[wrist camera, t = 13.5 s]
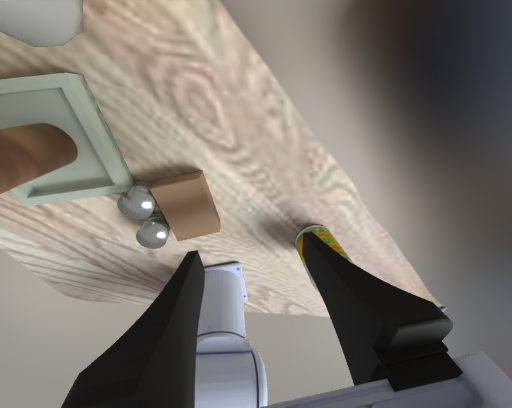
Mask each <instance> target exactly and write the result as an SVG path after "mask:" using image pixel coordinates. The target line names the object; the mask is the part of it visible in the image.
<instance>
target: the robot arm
mask: <svg viewBox="0 0 512 408" xmlns="http://www.w3.org/2000/svg"><path fill="white" fill-rule="evenodd" d="M302 255H303V258H304V261H305V264H306V266H307V269H308V271H309V273H310V275H311V277H312V279H313V281H314V283H315V284H316V286H317V288H318V290H319V292H320V294H321V296H322V298H323V300H324V303H325V305H326V307H327V310H328V312H329V315H330V318H331V320H332V323H333V325H334V328H335V330H336V333H337V336H338V339H339V342H340V344H341V347H342V350H343V353H344V356H345V358H346V362H347V365H348V367H349V370H350V373H351V376H352V380H353V383H354V386H352V387H348V388H343V389H339V390H335V391H330V392H325V393H321V394H316V395H312V396H308V397H303V398H299V399H295V400H290V401H285V402H281V403H276V404H272V405H267V379H266V372H265V367H264V363H263V360H262V358H261V356H260V355H259V353H258V351H257V350H256V349H254V348H253V349H252V348H251V343H250V339H247V338H246V334H245V321H244V307H243V302H245V301H247V300H248V297H247V292H246V287H245V282H244V278H243V273H242V268H241V264H240V263H232V264H226V265H221V266H215V267H209V268H204V267H203V264H202V261H201V258H200V256H199V253H198V250H196V251H190V252H188V253H187V254H186V256H185V257H184V259H183V261H182V262H181V264H180V265H179V267H178V269H177V270H176V272H175V273H174V275H173V276H172V278H171V279H170V281H169V282H168V283H167V285H166V286H165V287H164V289H163V290H162V291H161V293H160V294H159V295H158V297H157V298H156V299H155V301H154V302H153V303H152V304H151V305H150V307H149V308H148V309H147V310H146V311H145V312H144V313H143V315H142V316H141V317H140V318H139V319H138V320H137V321H136V322H135V323H134V324H133V325H132V326H131V327H130V328H129V329H128V330H127V331H126V332H125V333H124V334H123V335H122V336H121V337H120V338H119V339H118V340H117V341H116V342H115V343H114V344H113V345H112V346H111V347H110V348H109V349H107V350H106V351H105V352H104V353H103V354H102V355H101V356H99V357H98V358H97V359H96V360H95V361H94V362H92V363H91V364H90V365H89V366H88V367H87V368H86V369H84V370H83V371H82V372H81V373H79V375H78V377H77V379H76V380H75V382H74V384H73V386H72V388H71V389H70V391H69V393H68V395H67V397H66V399H65V401H64V403H63V405H62V407H61V408H512V381H511V380H510V379H509V378H508V377H507V376H506V375H505V374H504V373H503V372H502V371H501V370H500V369H499V368H498V367H497V366H496V365H495V364H494V363H493V362H492V361H491V360H490V359H489V358H488V357H487V356H486V355H485V354H484V353H483V352H476V353H471V354H467V355H462V356H459V357H456V358H454V359H452V358H451V357H450V356H449V355H448V354H447V353H446V352H447V351H448V348H447V347H446V346H445V344H444V343H443V342H442V340H443V339H444V338H445V337H446V335H447V334H448V333H449V332H450V331H451V330H452V327H453V323H452V321H451V320H450V319H449V318H448V317H447V316H446V315H445V314H444V313H443V312H442V311H441V310H440V309H439V308H438V307H437V306H436V305H435V304H434V303H433V302H430V301H428V300H425V299H423V298H421V297H418V296H416V295H413V294H411V293H408V292H406V291H404V290H401V289H399V288H397V287H395V286H393V285H391V284H389V283H387V282H385V281H383V280H381V279H379V278H377V277H375V276H373V275H371V274H370V273H368V272H366V271H364V270H363V269H361V268H359V267H358V266H356V265H355V264H353V263H352V262H350V261H349V260H347V259H346V258H344V257H343V256H342V255H340V254H339V253H338V252H336V251H335V250H334V249H332V248H331V247H330V246H329V245H327V244H326V243H325V242H324V241H323V240H321V239H320V238H319V237H318V236H317V235H316V234H314V233H313V232H312V231H310V232H304V233H303V243H302Z"/></svg>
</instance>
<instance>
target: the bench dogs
mask: <svg viewBox="0 0 512 408" xmlns="http://www.w3.org/2000/svg"><path fill="white" fill-rule="evenodd" d="M153 184H154V183H152V182H150V181H145V180H142V181H138V182H136V183H135V184H134V185H132V186H131V187H130V188H129V189H128V190H127V191H126V192H125V193H124V194H123V195H122V196H121V197H120V198H119V199H118V208H119V210H120V211H121V213H122V214H124V215H125V216H127V217H128V218H131V219H135V220H142V219H146V220H145V221H144V223H143V224H142V226H141V227H140V229H139V230H138V232H137V234H136V239H137V241H138V242H139V243H140V244H141V245H142V246H144V247H147V248H151V249H156V248H160V247H162V246H164V245H165V243H166V241H167V239H168V236H169V234H170V232H171V227H170V226H169V224H168V222H167V220H166V218H165V216H164V215H163V213H162V212H153V210H154V209H155V207H156V206H157V202H156V200H155V198H154V196H153V195H152V193H151V191H150V188H151V187H152V185H153ZM152 212H153V213H152Z"/></svg>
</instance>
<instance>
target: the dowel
mask: <svg viewBox="0 0 512 408" xmlns="http://www.w3.org/2000/svg"><path fill="white" fill-rule="evenodd" d="M77 155H78V150H77V146H76V144H75V142H74V141H73V139H72V138H71V137H70V136H69V135H68V134H67V133H66V132H64V131H63V130H62V129H60V128H58V127H56V126H54V125H51V124H46V123H37V124H30V125H23V126H16V127H10V128H3V129H0V194H1V193H4V192H6V191H8V190H11V189H13V188H15V187H17V186H20V185H22V184H24V183H27V182H29V181H31V180H34V179H36V178H38V177H40V176H43V175H45V174H47V173H50V172H52V171H54V170H57V169H59V168H61V167H63V166H66V165H68V164H70V163H72V162H74V161H75V160H76V158H77Z"/></svg>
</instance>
